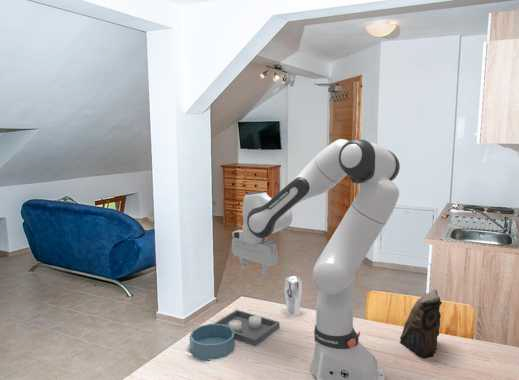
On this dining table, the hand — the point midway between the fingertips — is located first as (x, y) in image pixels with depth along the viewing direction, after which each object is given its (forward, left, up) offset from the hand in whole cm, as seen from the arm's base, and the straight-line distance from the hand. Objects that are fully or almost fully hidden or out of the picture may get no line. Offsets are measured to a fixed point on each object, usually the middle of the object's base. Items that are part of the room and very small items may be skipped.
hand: (253, 272), depth 156 cm
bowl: (+4, +19, -23) cm, 30 cm away
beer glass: (-6, -20, -23) cm, 31 cm away
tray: (+2, +2, -23) cm, 23 cm away
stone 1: (+4, +6, -22) cm, 23 cm away
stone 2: (0, -1, -22) cm, 22 cm away
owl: (-55, -21, -23) cm, 63 cm away
